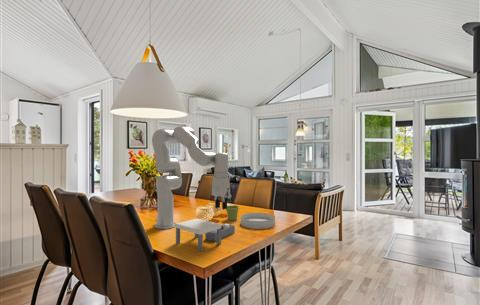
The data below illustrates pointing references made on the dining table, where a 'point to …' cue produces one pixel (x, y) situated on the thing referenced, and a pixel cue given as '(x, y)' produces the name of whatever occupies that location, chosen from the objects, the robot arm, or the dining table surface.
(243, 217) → the dish
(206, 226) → the low table
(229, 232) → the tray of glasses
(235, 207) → the plant pot
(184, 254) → the dining table surface
